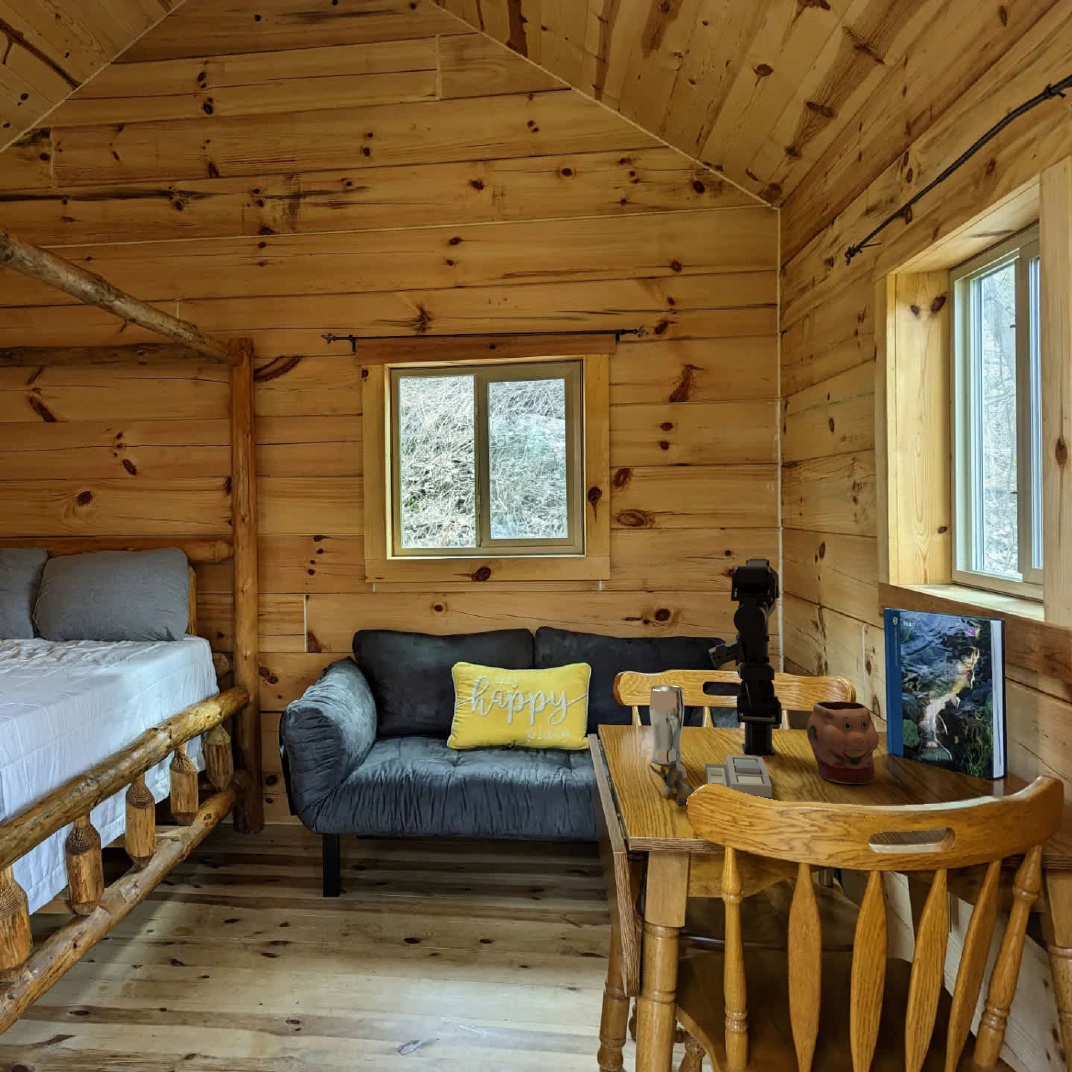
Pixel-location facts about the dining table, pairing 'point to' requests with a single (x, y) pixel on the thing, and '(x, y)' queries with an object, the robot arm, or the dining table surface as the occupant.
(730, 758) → the keypad
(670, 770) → the eagle figurine
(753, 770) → the slate key
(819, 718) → the decorative planter
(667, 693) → the beer glass
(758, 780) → the ivory key
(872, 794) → the dining table surface
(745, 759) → the sage key
